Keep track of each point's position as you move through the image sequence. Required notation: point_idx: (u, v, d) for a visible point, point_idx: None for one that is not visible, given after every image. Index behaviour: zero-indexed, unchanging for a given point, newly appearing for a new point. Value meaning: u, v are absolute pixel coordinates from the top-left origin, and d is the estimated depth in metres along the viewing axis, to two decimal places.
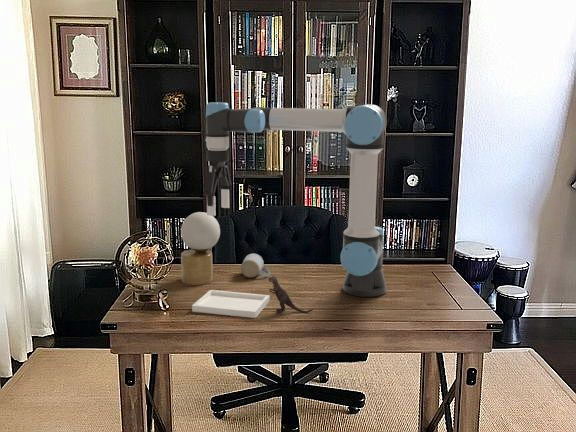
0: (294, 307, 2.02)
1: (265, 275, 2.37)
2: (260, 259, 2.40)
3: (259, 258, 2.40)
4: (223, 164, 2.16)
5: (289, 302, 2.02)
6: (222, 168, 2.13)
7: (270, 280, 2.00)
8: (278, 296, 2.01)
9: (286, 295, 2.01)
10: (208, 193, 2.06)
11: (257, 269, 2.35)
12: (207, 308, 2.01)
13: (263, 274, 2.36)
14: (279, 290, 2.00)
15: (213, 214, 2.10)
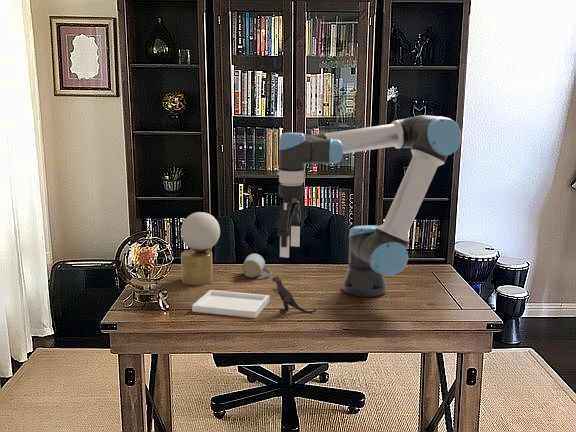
0: (298, 307, 2.02)
1: (266, 275, 2.37)
2: (262, 259, 2.40)
3: (260, 258, 2.40)
4: (296, 200, 1.97)
5: (293, 302, 2.02)
6: (296, 205, 1.94)
7: (274, 280, 2.00)
8: (282, 296, 2.01)
9: (290, 295, 2.01)
10: (283, 233, 1.87)
11: (258, 269, 2.35)
12: (207, 308, 2.01)
13: (264, 274, 2.36)
14: (283, 290, 2.00)
15: (287, 256, 1.91)
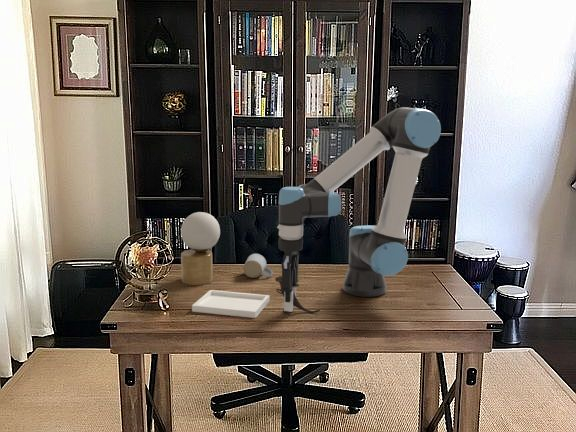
0: (301, 307, 2.02)
1: (268, 275, 2.36)
2: (263, 259, 2.40)
3: (262, 258, 2.40)
4: None
5: (296, 302, 2.01)
6: (295, 257, 1.97)
7: (277, 280, 2.00)
8: None
9: (293, 295, 2.01)
10: (287, 290, 1.96)
11: (260, 269, 2.35)
12: (207, 308, 2.01)
13: (266, 274, 2.36)
14: None
15: (290, 310, 2.00)
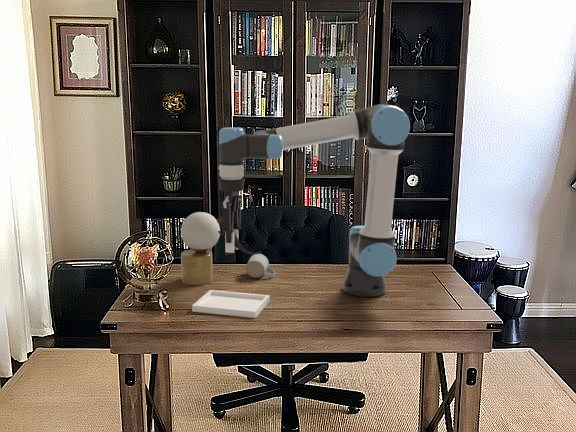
0: (243, 249, 2.03)
1: (270, 275, 2.36)
2: (265, 259, 2.40)
3: (264, 258, 2.39)
4: (237, 192, 2.02)
5: (238, 244, 2.02)
6: (236, 198, 1.98)
7: (218, 221, 2.01)
8: None
9: (234, 237, 2.02)
10: (227, 230, 1.96)
11: (262, 269, 2.35)
12: (207, 308, 2.01)
13: (268, 274, 2.36)
14: None
15: (232, 251, 2.01)
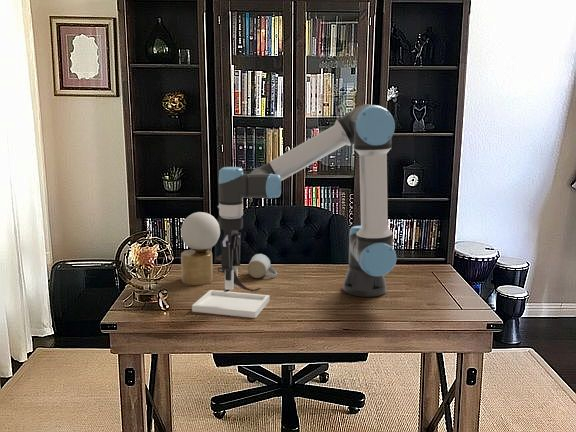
0: (242, 286, 2.06)
1: (272, 275, 2.36)
2: (267, 260, 2.39)
3: (266, 258, 2.39)
4: (237, 230, 2.04)
5: (237, 281, 2.05)
6: (235, 236, 2.01)
7: (218, 259, 2.04)
8: None
9: (234, 274, 2.04)
10: (226, 268, 1.99)
11: (264, 269, 2.35)
12: (207, 308, 2.01)
13: (270, 274, 2.36)
14: None
15: (231, 288, 2.03)
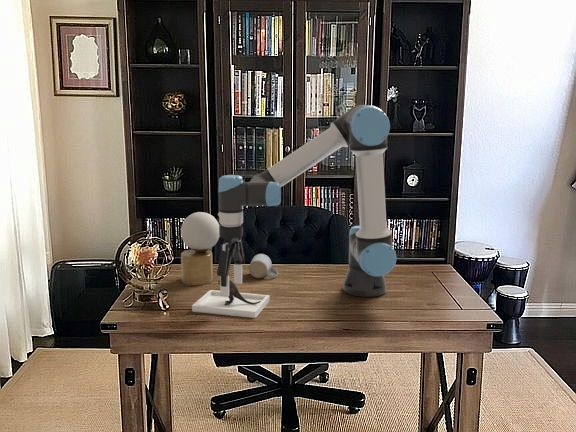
0: (242, 299, 2.07)
1: (273, 275, 2.36)
2: (268, 260, 2.39)
3: (267, 258, 2.39)
4: (236, 239, 2.05)
5: (237, 294, 2.06)
6: (236, 244, 2.01)
7: None
8: None
9: (234, 287, 2.05)
10: (222, 274, 1.95)
11: (265, 269, 2.35)
12: (207, 308, 2.01)
13: (271, 274, 2.36)
14: None
15: (227, 294, 1.99)
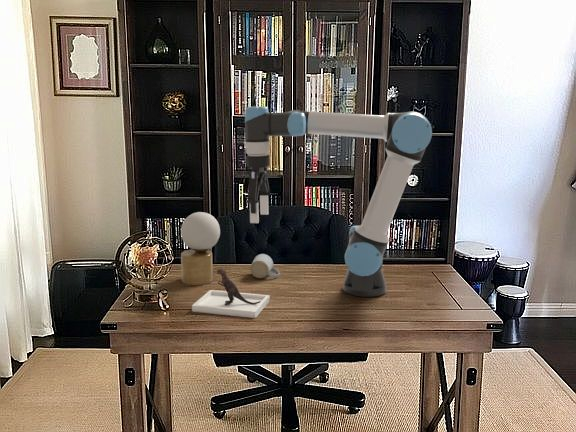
0: (242, 299, 2.07)
1: (275, 276, 2.36)
2: (270, 260, 2.39)
3: (269, 259, 2.39)
4: (263, 170, 2.11)
5: (237, 294, 2.06)
6: (263, 174, 2.07)
7: (218, 272, 2.05)
8: (226, 288, 2.05)
9: (234, 287, 2.05)
10: (252, 200, 2.00)
11: (267, 270, 2.34)
12: (207, 308, 2.01)
13: (273, 275, 2.36)
14: (227, 282, 2.05)
15: (256, 221, 2.04)
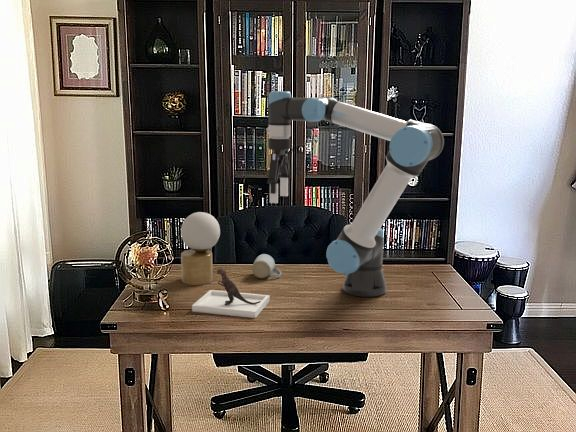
0: (242, 299, 2.07)
1: (276, 276, 2.36)
2: (271, 260, 2.39)
3: (270, 259, 2.39)
4: (284, 152, 2.19)
5: (237, 294, 2.06)
6: (284, 156, 2.16)
7: (218, 272, 2.05)
8: (226, 288, 2.05)
9: (234, 287, 2.05)
10: (272, 180, 2.09)
11: (268, 270, 2.34)
12: (207, 308, 2.01)
13: (274, 275, 2.36)
14: (227, 282, 2.05)
15: (276, 201, 2.13)
